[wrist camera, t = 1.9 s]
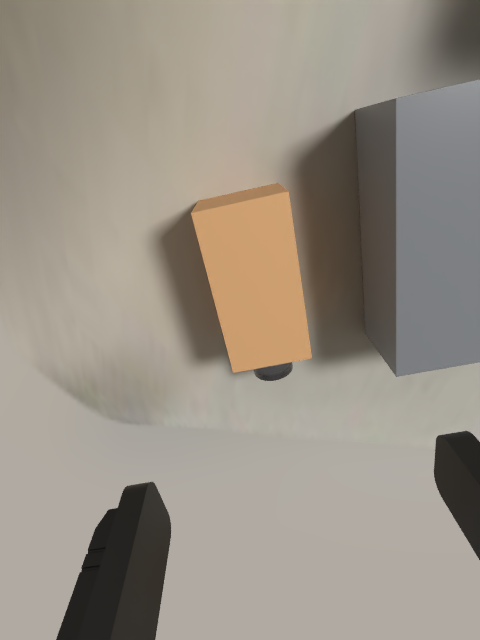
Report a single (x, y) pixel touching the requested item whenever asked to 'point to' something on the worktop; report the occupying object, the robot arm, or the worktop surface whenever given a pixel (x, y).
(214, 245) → the block
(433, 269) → the stand
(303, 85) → the worktop surface
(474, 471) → the robot arm
